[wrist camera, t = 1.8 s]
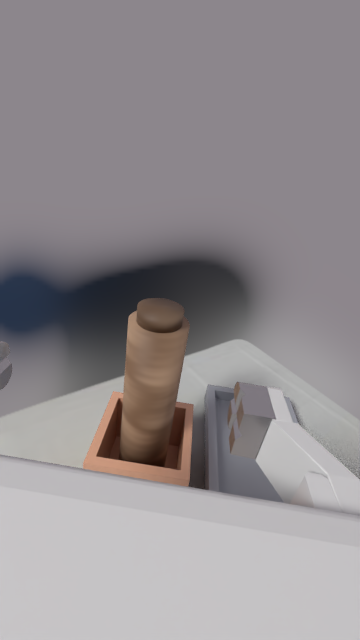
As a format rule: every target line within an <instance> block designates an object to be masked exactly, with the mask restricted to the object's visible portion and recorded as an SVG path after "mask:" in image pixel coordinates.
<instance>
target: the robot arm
mask: <svg viewBox="0 0 360 640" xmlns="http://www.w3.org/2000/svg"><path fill="white" fill-rule="evenodd" d="M9 353H10V351H9V345H8V344H7V343H5V342H1V341H0V390H1V389H3V388H4V387H5V386H6V385H7V383H8V381H9V379H10V377H11V373H12V364H11V362H10V361H9V360H8V359H7V356H8V355H9ZM227 422H228V428H229V429H230V431H231V432H230V436H229V445H230V454H231V455H236V456H241V457H246V458H251V459H256V460H255V461H256V462H257V464H258V465H259V467H260V468H261V469H262V471H263V472H264V474H265V475H266V477H267V478H268V480H269V481H270V483H271V484H272V486H273V487H274V489H275V490H276V492H277V493H278V494H279V496H280V497H281V499H282V500H283V502H284V503H281V502H275V501H269V500H263V499H257V498H251V497H246V496H240V495H234V494H228V493H222V492H216V491H210V490H204V489H198V488H192V487H187V486H181V485H175V484H169V483H163V482H158V481H152V480H146V479H140V478H134V477H129V476H123V475H117V474H111V473H105V472H100V471H94V470H88V469H82V468H76V467H70V466H64V465H59V464H53V463H47V462H41V461H35V460H29V459H23V458H18V457H12V456H6V455H0V640H360V479H359V478H357V477H356V476H355V475H354V474H353V473H352V472H351V471H350V470H349V469H347V468H346V467H345V466H344V465H343V464H342V463H341V462H340V461H339V460H338V459H336V458H335V457H334V456H333V455H332V454H331V453H330V452H329V451H328V450H327V449H325V448H324V447H323V446H322V445H321V444H320V443H319V442H318V441H317V440H315V439H314V438H313V437H312V436H311V435H310V434H309V433H308V432H307V431H306V430H304V429H303V428H302V427H301V426H300V425H299V424H298V423H293V420H292V417H291V415H290V412H289V409H288V406H287V404H286V401H285V398H284V395H283V393H282V390H281V389H280V388H275V387H268V386H258V385H252V384H246V383H240V382H237V383H236V385H235V388H234V399H232V400H231V401H230V405H229V409H228V420H227Z"/></svg>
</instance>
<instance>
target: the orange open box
mask: <svg viewBox="0 0 360 640" xmlns="http://www.w3.org/2000/svg"><path fill="white" fill-rule="evenodd" d="M193 405H194V404H187V403H181V402H176V405H175V411H174V417H173V422H172V428H171V434H170V439H169V445H168V451H167V456H166V462H165V467H164V468H163V467H157V466H151V465H145V464H139V463H133V462H127V461H121V460H119V452H120V437H121V422H122V408H123V393H120V392H114V391H113V393H112V396H111V398H110V401H109V403H108V405H107V408H106V410H105V413H104V415H103V417H102V420H101V422H100V424H99V427H98V429H97V432H96V434H95V436H94V439H93V441H92V444H91V446H90V448H89V451H88V453H87V456H86V458H85V460H84V463H83V469H88V470H94V471H100V472H105V473H111V474H117V475H123V476H129V477H134V478H140V479H146V480H152V481H158V482H163V483H169V484H175V485H181V486H187V487H188V485H189V481H190V463H191V444H192V424H193Z"/></svg>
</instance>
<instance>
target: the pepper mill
mask: <svg viewBox="0 0 360 640" xmlns="http://www.w3.org/2000/svg"><path fill="white" fill-rule="evenodd" d="M183 315H184V308H183V307H182V306H181V305H180V304H178V303H176V302H174V301H171V300H168V299H162V298H149V299H145V300H142V301H140V302H139V303H138V305H137V311H135V312H133V313H132V314H131V315H130V316H129V319H128V334H127V349H126V363H125V378H124V393H123V408H122V422H121V437H120V452H119V460H121V461H127V462H133V463H139V464H145V465H151V466H157V467H163V468H164V467H165V462H166V456H167V451H168V445H169V439H170V434H171V428H172V422H173V417H174V411H175V405H176V400H177V394H178V389H179V383H180V377H181V372H182V366H183V360H184V355H185V349H186V343H187V338H188V332H189V326H190V325H189V322H188V320H187V319H186V318H185V317H184V316H183Z"/></svg>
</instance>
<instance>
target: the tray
mask: <svg viewBox="0 0 360 640" xmlns="http://www.w3.org/2000/svg"><path fill="white" fill-rule="evenodd" d="M284 398H285V401H286V404H287V406H288V409H289V412H290V415H291V417H292V420H293V423H298V421H297V418H296V415H295V413H294V410H293V407H292V404H291V402H290V399H289V398H288V397H284ZM232 399H234V389H233V388H227V387H221V386H214V385H208V386H207V390H206V394H205V481H204V490H210V491H216V492H222V493H228V494H234V495H240V496H246V497H251V498H257V499H263V500H269V501H275V502H281V503H284V502H283V500H282V499H281V497H280V496H279V494H278V493H277V492H276V490H275V489H274V487H273V486H272V484H271V483H270V481H269V480H268V478H267V477H266V475H265V474H264V472H263V471H262V469H261V468H260V467H259V465H258V464H257V462H256V461H255V460H256V459H251V458H246V457H241V456H236V455H231V454H230V445H229V436H230V432H231V431H230V429H229V428H228V422H227V420H228V409H229V405H230V401H231V400H232ZM298 424H299V423H298Z"/></svg>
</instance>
